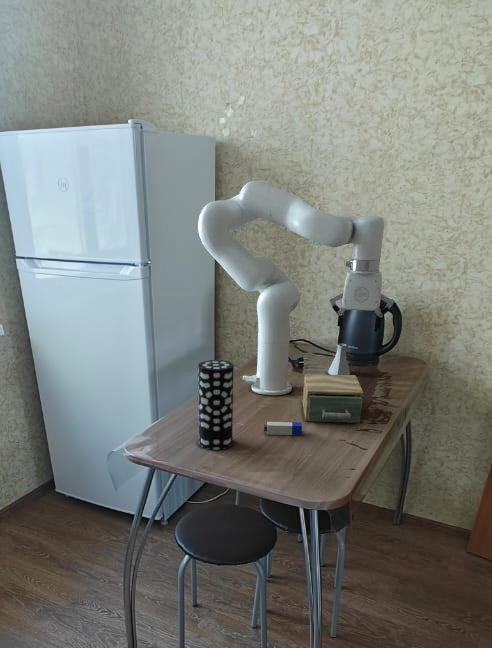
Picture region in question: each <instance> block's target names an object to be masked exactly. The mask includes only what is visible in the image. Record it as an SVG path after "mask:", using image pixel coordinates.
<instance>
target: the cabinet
mask: <svg viewBox="0 0 492 648" xmlns="http://www.w3.org/2000/svg"><path fill="white" fill-rule="evenodd" d="M303 377H304V380H303V391H302V409H303V415H304V421H305V422H309V421H308V414H309V401H310V394H336V395H357V396H358V397H361V398H362V401H361V409H360V417H359V423H361V415H362V413H361V412H362V406H363V398H364V390H363V388H362V387H361V384H360V381H359V379H358V377H357V375H355V374H350V375H330V374H319V373H318V374H317V373H316V374H314V373H305V374H304V376H303ZM317 422H323V423H326V422H325V421H317ZM350 423H352V424H353V423H354V424H355V423H356V424H359V423H358V422H350Z"/></svg>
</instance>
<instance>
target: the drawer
mask: <svg viewBox="0 0 492 648" xmlns="http://www.w3.org/2000/svg"><path fill="white" fill-rule="evenodd" d="M361 401H362V402H363V399H362V398H361V397H358V396H357V395H336V394H310V401H309V414H308V421H307V422H318V421H325V422H324V423H351V422H358V423H357V424H359V417H360V418H361V416H360V409H361V410H362V407H361Z"/></svg>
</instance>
